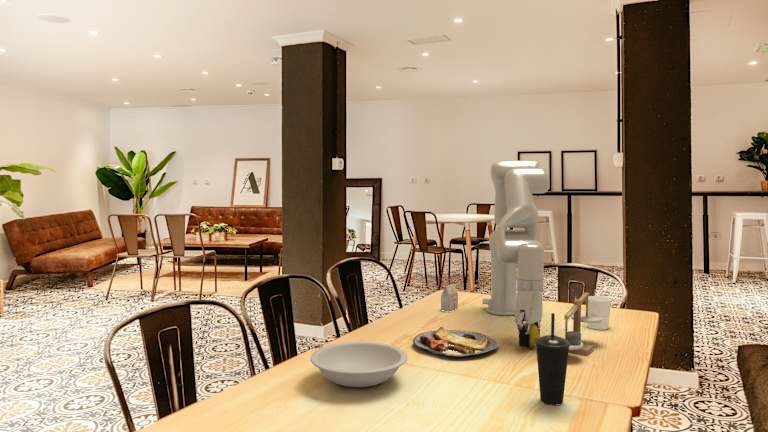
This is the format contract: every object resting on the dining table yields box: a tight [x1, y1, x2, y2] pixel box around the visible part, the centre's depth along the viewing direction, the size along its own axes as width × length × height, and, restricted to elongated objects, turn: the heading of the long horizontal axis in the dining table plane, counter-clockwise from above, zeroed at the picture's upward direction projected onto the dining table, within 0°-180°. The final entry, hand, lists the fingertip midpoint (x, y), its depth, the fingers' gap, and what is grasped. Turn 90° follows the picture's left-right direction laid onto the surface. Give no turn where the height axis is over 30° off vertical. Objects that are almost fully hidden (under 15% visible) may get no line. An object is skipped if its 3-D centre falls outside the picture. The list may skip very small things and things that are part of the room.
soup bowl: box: [310, 340, 408, 388], centre depth 131 cm, size 24×24×7 cm
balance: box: [563, 291, 603, 356], centre depth 155 cm, size 9×27×16 cm, turn 141°
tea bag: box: [440, 283, 459, 312], centre depth 206 cm, size 4×7×10 cm, turn 143°
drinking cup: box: [535, 312, 571, 406], centre depth 119 cm, size 8×8×20 cm
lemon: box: [523, 323, 539, 349], centre depth 158 cm, size 6×6×8 cm
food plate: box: [412, 326, 499, 357], centre depth 159 cm, size 25×23×4 cm
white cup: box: [586, 295, 612, 331], centre depth 180 cm, size 8×8×10 cm
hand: (529, 343), depth 158 cm, fingers open, 6 cm apart
